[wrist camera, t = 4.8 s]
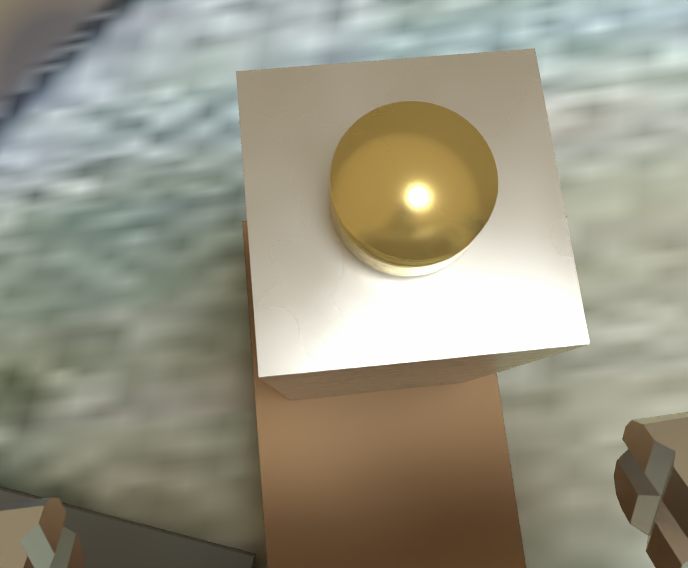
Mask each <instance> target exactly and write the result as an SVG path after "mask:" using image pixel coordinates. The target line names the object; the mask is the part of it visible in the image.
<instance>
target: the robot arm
mask: <svg viewBox="0 0 688 568" xmlns="http://www.w3.org/2000/svg"><path fill="white" fill-rule="evenodd" d="M622 439H623V441H624V442H625V444H626V445H627V447H628V448H629V449H628V450H627V451H626V452H625V453H624V454H623V455H622V456H621V457H620V458H619V459H618V460H617V462H616V467H615V472H614V481H615V489H616V495H617V498H618V500H619V503H620V506H621V508H622V510H623V512H624V514H625V516H626V517H627V519H628V521H629V523H630V524H631V525H633V526H634V527H636V528H637V529H639V530H640V531H642V532H643V533H645V534H646V535H648V541H647V548H646V552H647V554H648V555H649V557H650V559H651V561H652V562H653V564H654V566H655V567H656V568H688V412H683V413H677V414H670V415H663V416H656V417H649V418H642V419H635V420H631V421H630V422H629V424H628V425H627V426H626V427H625V431H624V435H623V438H622ZM66 514H67V512H66V510H65V509H64V507H63V505H62V503H61V501H60V499H59V498H53V497H50V498H41V499H32V500H22V501H13V502H3V503H0V568H84V557H83V552H82V547H81V543H80V541H79V539H78V536H77V534H76V533H75V532H73V531H71V530H69V529H67V528H65V527H64V526H63V524H64V521H65V518H66Z"/></svg>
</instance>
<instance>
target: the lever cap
mask: <svg viewBox="0 0 688 568" xmlns="http://www.w3.org/2000/svg"><path fill="white" fill-rule="evenodd" d="M236 76H237V90H238V104H239V117H240V131H241V144H242V158H243V171H244V185H245V199H246V212H247V226H248V239H249V253H250V266H251V280H252V294H253V307H254V321H255V334H256V348H257V362H258V375H259V378H260V379H262V380H263V381H264V382H266V383H267V384H269V385H270V386H271V387H273V388H274V389H275V390H277V391H278V392H280V393H281V394H282V395H284V396H285V397H286V398H288V399H289V400H291V401H292V400H302V399H312V398H321V397H331V396H341V395H350V394H360V393H370V392H379V391H389V390H399V389H408V388H418V387H428V386H438V385H447V384H457V383H464V382H468V381H471V380H474V379H477V378H481V377H484V376H487V375H490V374H494V373H497V372H500V371H503V370H507V369H510V368H513V367H516V366H520V365H523V364H526V363H529V362H533V361H536V360H539V359H542V358H546V357H549V356H552V355H555V354H559V353H562V352H565V351H568V350H572V349H575V348H578V347H581V346H585V345H588V344H590V342H589V337H588V331H587V326H586V321H585V315H584V310H583V305H582V299H581V294H580V288H579V283H578V278H577V272H576V267H575V262H574V256H573V251H572V246H571V240H570V235H569V229H568V224H567V219H566V213H565V208H564V203H563V197H562V192H561V187H560V181H559V176H558V170H557V165H556V160H555V154H554V149H553V144H552V138H551V133H550V128H549V122H548V117H547V111H546V106H545V101H544V95H543V90H542V85H541V79H540V74H539V68H538V63H537V58H536V52H535V49H523V50H509V51H496V52H483V53H470V54H457V55H444V56H431V57H418V58H405V59H392V60H379V61H366V62H353V63H340V64H327V65H314V66H301V67H288V68H275V69H261V70H248V71H236Z"/></svg>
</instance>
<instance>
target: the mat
mask: <svg viewBox="0 0 688 568" xmlns="http://www.w3.org/2000/svg"><path fill="white" fill-rule="evenodd" d="M32 499H41V497H37V496H33V495H29V494H26V493H22V492H18V491H14V490H10V489H7V488H3V487H0V503H3V502H13V501H22V500H32ZM62 505H63V507H64V509H65V510H66V512H67V514H66V518H65V521H64V524H63V526H64V527H65V528H67V529H69V530H71V531H73V532H75V533H76V534H77V536H78V539H79V541H80V543H81V547H82V552H83V557H84V568H252V566H253V562H254V559H255V555H256V554H253V553H249V552H245V551H241V550H238V549H234V548H230V547H226V546H223V545H219V544H215V543H211V542H207V541H204V540H200V539H196V538H192V537H188V536H185V535H181V534H177V533H173V532H170V531H166V530H162V529H158V528H154V527H151V526H147V525H143V524H139V523H135V522H132V521H128V520H124V519H120V518H116V517H113V516H109V515H105V514H101V513H98V512H94V511H90V510H86V509H82V508H79V507H75V506H71V505H67V504H63V503H62Z"/></svg>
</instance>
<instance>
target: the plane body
mask: <svg viewBox="0 0 688 568" xmlns="http://www.w3.org/2000/svg"><path fill="white" fill-rule="evenodd" d="M242 222H243V236H244V250H245V264H246V278H247V292H248V306H249V320H250V334H251V348H252V361H253V375H254V389H255V403H256V417H257V431H258V445H259V459H260V473H261V486H262V500H263V514H264V528H265V542H266V556H267V568H526V564H525V557H524V551H523V544H522V537H521V531H520V524H519V518H518V511H517V505H516V498H515V492H514V485H513V479H512V472H511V466H510V459H509V453H508V446H507V440H506V433H505V427H504V420H503V413H502V407H501V400H500V394H499V387H498V381H497V374H496V373H494V374H490V375H487V376H484V377H481V378H477V379H474V380H471V381H468V382H464V383H457V384H447V385H438V386H428V387H418V388H408V389H399V390H389V391H379V392H370V393H360V394H350V395H341V396H331V397H321V398H312V399H302V400H292V401H291V400H289V399H288V398H286V397H285V396H284V395H282V394H281V393H280V392H278V391H277V390H275V389H274V388H273V387H271V386H270V385H269V384H267V383H266V382H264V381H263V380H262V379H260V378H259V375H258V362H257V348H256V334H255V321H254V307H253V294H252V280H251V266H250V253H249V239H248V226H247V221H242Z"/></svg>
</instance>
